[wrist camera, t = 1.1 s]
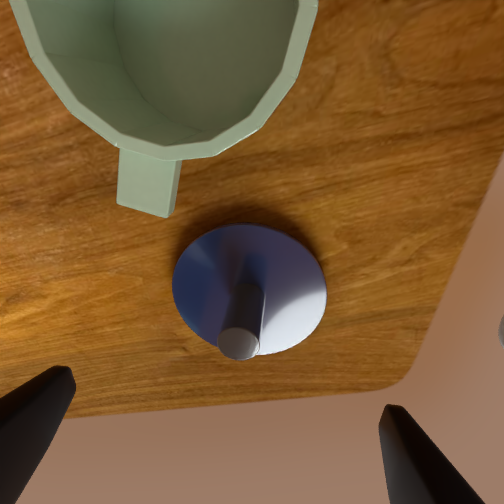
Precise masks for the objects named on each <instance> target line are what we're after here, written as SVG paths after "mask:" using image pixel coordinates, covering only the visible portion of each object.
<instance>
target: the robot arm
mask: <svg viewBox="0 0 504 504" xmlns="http://www.w3.org/2000/svg"><path fill="white" fill-rule="evenodd" d="M75 391H76V383H75V380H74V377H73V374H72V371H71V369H70V368H69V367H67V366H59V365H56V366H53V367H51V368H49V369H48V370H46V371H44V372H43V373H41V374H39V375H38V376H36V377H34V378H33V379H31V380H29V381H28V382H26V383H24V384H23V385H21V386H19V387H18V388H16V389H14V390H13V391H11V392H10V393H8V394H6V395H5V396H3V397H1V398H0V504H15V503H16V501H17V500H18V498H19V496H20V495H21V493H22V491H23V490H24V488H25V486H26V485H27V483H28V481H29V480H30V478H31V476H32V475H33V473H34V471H35V469H36V468H37V466H38V464H39V463H40V461H41V459H42V458H43V456H44V454H45V453H46V451H47V449H48V447H49V445H50V443H51V441H52V440H53V438H54V435H55V434H56V431H57V429H58V427H59V425H60V423H61V421H62V419H63V417H64V415H65V413H66V411H67V409H68V407H69V405H70V403H71V401H72V399H73V397H74V394H75ZM379 436H380V443H381V449H382V456H383V463H384V470H385V476H386V483H387V489H388V495H389V500H390V504H485V503H484V502H483V500H482V499H481V498H480V497H479V496H478V495H477V493H476V492H475V491H474V490H473V489H472V487H471V486H470V485H469V484H468V483H467V482H466V480H465V479H464V478H463V477H462V476H461V475H460V473H459V472H458V471H457V470H456V468H455V467H454V466H453V465H452V464H451V463H450V462H449V460H448V459H447V458H446V457H445V455H444V454H443V453H442V452H441V451H440V450H439V448H438V447H437V446H436V445H435V444H434V443H433V441H432V440H431V439H430V438H429V437H428V435H427V434H426V433H425V432H424V431H423V429H422V428H421V427H420V426H419V425H418V424H417V422H416V421H415V420H414V419H413V418H412V416H411V415H410V414H409V413H408V412H407V411H406V410H405V409H404V408H403V407H402V406H398V405H391V404H387V405H386V406H385V408H384V411H383V413H382V416H381V419H380V422H379Z"/></svg>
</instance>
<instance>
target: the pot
mask: <svg viewBox="0 0 504 504" xmlns="http://www.w3.org/2000/svg"><path fill="white" fill-rule="evenodd" d="M9 2H10V5H11V8H12V10H13V13H14V16H15V18H16V21H17V24H18V26H19V29H20V32H21V34H22V37H23V40H24V42H25V45H26V48H27V50H28V53H29V56H30V57H31V58H32V61H33V62H34V64H35V65H36V67H37V68H38V69H39V71H40V72H41V73H42V75H43V76H44V78H45V79H46V80H47V82H48V83H49V84H50V86H51V87H52V89H53V90H54V91H55V93H56V94H57V95H58V97H59V98H60V100H61V101H62V102H63V104H64V105H65V106H66V108H67V109H68V110H69V111H70V113H71V114H73V115H74V116H75V117H77V118H78V119H79V120H81V121H82V122H83V123H85V124H86V125H87V126H89V127H90V128H91V129H93V130H94V131H95V132H97V133H98V134H99V135H101V136H102V137H103V138H105V139H106V140H107V141H109V142H110V143H111V144H113V145H114V146H117V147H118V148H120V152H119V167H118V182H117V197H116V203H117V204H119V205H123V206H126V207H129V208H133V209H136V210H139V211H143V212H146V213H150V214H153V215H156V216H160V217H163V218H168V217H169V216H170V215H171V214H172V213H173V211H174V207H175V201H176V195H177V188H178V182H179V176H180V170H181V164H182V160H187V159H196V158H205V157H213V156H215V155H218V154H220V153H221V152H223V151H225V150H226V149H228V148H230V147H231V146H233V145H235V144H236V143H238V142H240V141H241V140H243V139H245V138H246V137H248V136H250V135H251V134H253V133H255V132H256V131H258V130H259V129H260V128H261V127H262V126H263V125H264V124H265V123H266V122H267V120H268V119H269V118H270V117H271V116H272V114H273V113H274V111H275V110H276V109H277V107H278V106H279V105H280V103H281V102H282V101H283V99H284V98H285V97H286V95H287V94H288V93H289V91H290V90H291V89H292V87H293V86H294V84H295V82H296V80H297V78H298V74H299V71H300V68H301V64H302V61H303V58H304V54H305V51H306V48H307V44H308V41H309V38H310V34H311V31H312V28H313V24H314V21H315V18H316V14H317V11H318V0H9Z"/></svg>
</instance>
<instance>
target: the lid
mask: <svg viewBox="0 0 504 504" xmlns="http://www.w3.org/2000/svg"><path fill="white" fill-rule="evenodd" d="M172 293H173V297H174V301H175V304H176V307H177V309H178V311H179V313H180V315H181V317H182V318H183V320H184V321H185V323H186V324H187V325H188V326H189V327H190V328H191V329H192V330H193V331H194V332H195V333H196V334H197V335H198V336H200V337H201V338H202V339H204V340H205V341H207V342H209V343H210V344H212V345H214V346H216V347H218V348H219V350H220V351H221V352H222V353H223V354H224V355H225V356H227V357H228V358H231V359H234V360H248V359H250V358H252V357H254V356H255V355H266V354H272V353H276V352H280V351H283V350H286V349H288V348H291V347H293V346H295V345H297V344H298V343H300V342H301V341H303V340H304V339H305V338H307V337H308V336H309V335H310V334H311V333H312V332H313V331H314V329H315V328H316V327H317V325H318V324H319V322H320V320H321V319H322V316H323V314H324V311H325V307H326V303H327V287H326V281H325V277H324V274H323V271H322V269H321V266H320V264H319V263H318V261H317V259H316V258H315V256H314V255H313V254H312V253H311V251H310V250H309V249H308V248H307V247H306V246H305V245H304V244H303V243H301V242H300V241H299V240H297V239H296V238H295V237H293V236H292V235H290V234H288V233H286V232H284V231H282V230H280V229H277V228H274V227H271V226H268V225H263V224H258V223H249V222H247V223H232V224H226V225H222V226H218V227H215V228H213V229H211V230H208V231H206V232H205V233H203V234H201V235H200V236H198V237H197V238H196V239H195V240H193V241H192V242H191V243H190V244H189V245H188V246H187V247H186V249H185V250H184V251H183V253H182V254H181V256H180V258H179V259H178V261H177V264H176V266H175V269H174V273H173V278H172Z"/></svg>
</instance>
